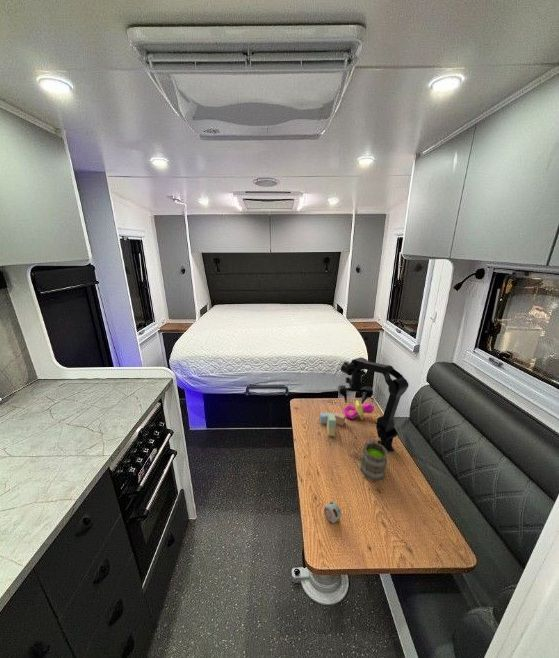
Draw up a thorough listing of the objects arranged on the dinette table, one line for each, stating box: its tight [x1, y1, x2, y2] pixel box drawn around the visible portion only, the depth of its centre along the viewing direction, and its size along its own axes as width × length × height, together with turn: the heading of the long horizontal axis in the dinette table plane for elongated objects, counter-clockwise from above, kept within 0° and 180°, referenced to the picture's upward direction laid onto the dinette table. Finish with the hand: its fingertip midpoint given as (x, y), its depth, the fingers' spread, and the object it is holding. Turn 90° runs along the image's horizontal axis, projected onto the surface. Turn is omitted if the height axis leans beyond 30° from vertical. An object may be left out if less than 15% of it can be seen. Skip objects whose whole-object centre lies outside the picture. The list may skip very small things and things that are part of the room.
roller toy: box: [323, 501, 342, 524], centre depth 97 cm, size 4×6×6 cm
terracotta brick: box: [333, 411, 346, 426], centre depth 150 cm, size 6×4×5 cm, turn 57°
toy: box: [343, 399, 375, 421], centre depth 155 cm, size 10×18×10 cm, turn 86°
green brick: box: [327, 412, 337, 429], centre depth 140 cm, size 6×4×5 cm, turn 177°
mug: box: [359, 437, 390, 482], centre depth 118 cm, size 16×11×12 cm
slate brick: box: [319, 411, 331, 425], centre depth 151 cm, size 6×4×5 cm, turn 97°
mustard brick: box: [326, 421, 336, 437], centre depth 142 cm, size 6×4×5 cm, turn 177°
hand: (353, 403), depth 149 cm, fingers open, 9 cm apart
